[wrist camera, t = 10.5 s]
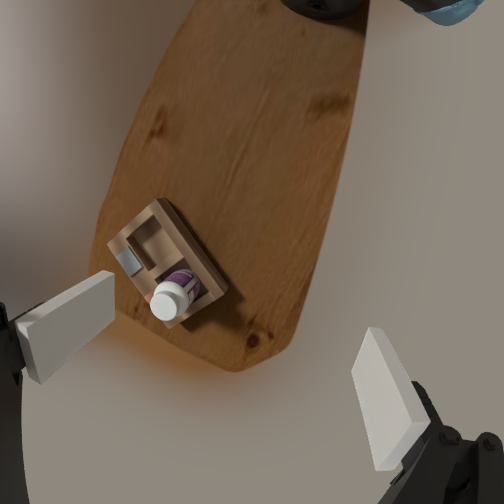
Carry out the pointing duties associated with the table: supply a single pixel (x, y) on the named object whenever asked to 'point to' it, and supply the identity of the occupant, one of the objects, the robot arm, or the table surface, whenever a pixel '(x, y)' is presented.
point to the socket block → (165, 256)
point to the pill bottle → (175, 294)
